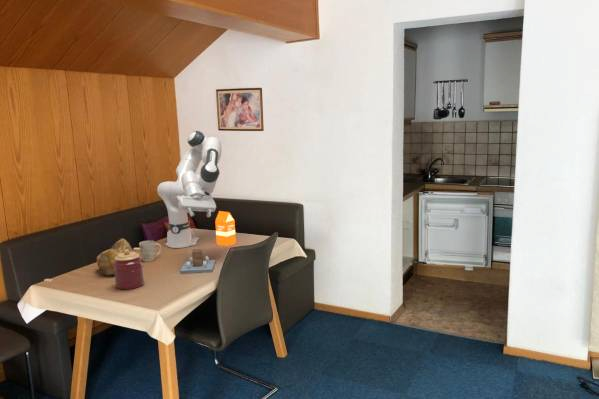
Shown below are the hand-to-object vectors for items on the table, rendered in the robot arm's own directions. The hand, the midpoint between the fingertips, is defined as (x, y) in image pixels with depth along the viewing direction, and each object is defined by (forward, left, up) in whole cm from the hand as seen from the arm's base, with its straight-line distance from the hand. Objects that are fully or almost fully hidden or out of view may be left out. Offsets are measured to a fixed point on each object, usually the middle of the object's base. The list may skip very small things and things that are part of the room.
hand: (200, 216), depth 263 cm
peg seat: (+5, -2, -26) cm, 27 cm away
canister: (+31, -27, -27) cm, 49 cm away
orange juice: (-41, 0, -27) cm, 49 cm away
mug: (-10, -34, -27) cm, 44 cm away
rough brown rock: (+9, -47, -27) cm, 54 cm away
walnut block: (+5, -2, -25) cm, 25 cm away
